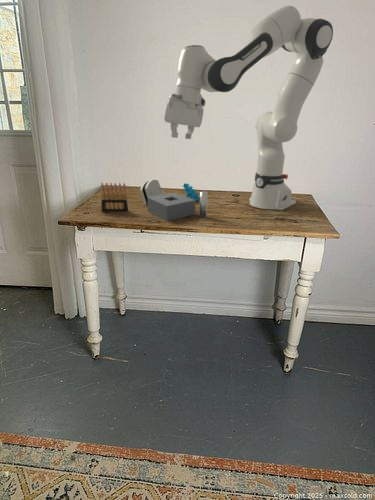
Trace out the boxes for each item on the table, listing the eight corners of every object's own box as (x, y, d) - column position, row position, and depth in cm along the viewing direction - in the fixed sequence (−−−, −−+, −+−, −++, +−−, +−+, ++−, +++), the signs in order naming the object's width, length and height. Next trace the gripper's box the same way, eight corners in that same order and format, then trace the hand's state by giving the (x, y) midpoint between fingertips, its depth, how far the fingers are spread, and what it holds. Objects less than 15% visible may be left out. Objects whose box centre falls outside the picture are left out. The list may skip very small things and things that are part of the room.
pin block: (174, 205, 152) (174, 192, 150) (194, 214, 142) (195, 200, 140) (147, 211, 144) (147, 197, 142) (166, 220, 134) (166, 206, 132)
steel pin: (203, 214, 142) (204, 191, 138) (208, 216, 140) (209, 192, 136) (197, 216, 140) (198, 192, 136) (202, 218, 138) (203, 193, 134)
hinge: (154, 205, 151) (147, 183, 148) (145, 208, 153) (137, 186, 150) (166, 195, 166) (159, 175, 163) (157, 198, 168) (150, 178, 165)
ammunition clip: (101, 211, 142) (99, 183, 137) (102, 210, 144) (100, 182, 139) (127, 211, 143) (126, 183, 138) (128, 210, 145) (126, 182, 140)
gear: (195, 200, 154) (182, 183, 154) (186, 208, 157) (173, 191, 157) (203, 197, 164) (190, 181, 164) (194, 205, 167) (182, 189, 167)
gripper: (178, 93, 111) (173, 138, 115) (207, 102, 128) (201, 140, 132) (162, 91, 114) (157, 135, 118) (193, 100, 131) (188, 138, 135)
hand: (181, 138), depth 125 cm, fingers open, 8 cm apart
